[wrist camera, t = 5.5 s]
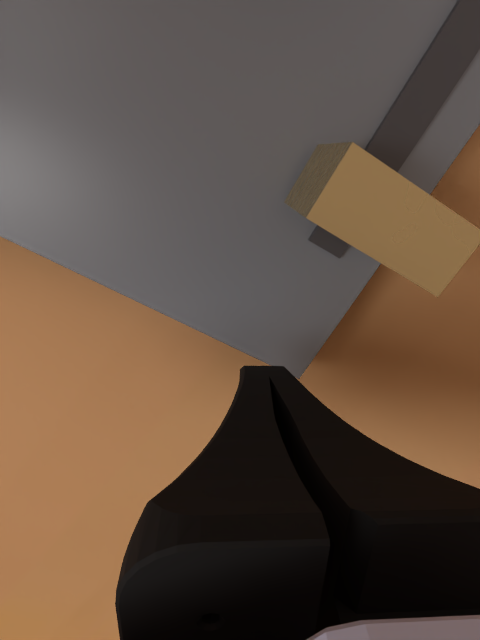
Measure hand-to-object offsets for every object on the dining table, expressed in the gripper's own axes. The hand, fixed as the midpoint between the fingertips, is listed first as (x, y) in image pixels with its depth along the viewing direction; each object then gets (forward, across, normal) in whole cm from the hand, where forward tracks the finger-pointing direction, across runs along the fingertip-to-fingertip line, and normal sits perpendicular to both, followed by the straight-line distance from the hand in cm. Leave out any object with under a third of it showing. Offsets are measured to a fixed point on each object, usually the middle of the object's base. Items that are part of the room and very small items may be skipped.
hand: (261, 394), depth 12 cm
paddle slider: (+2, -3, -5) cm, 6 cm away
